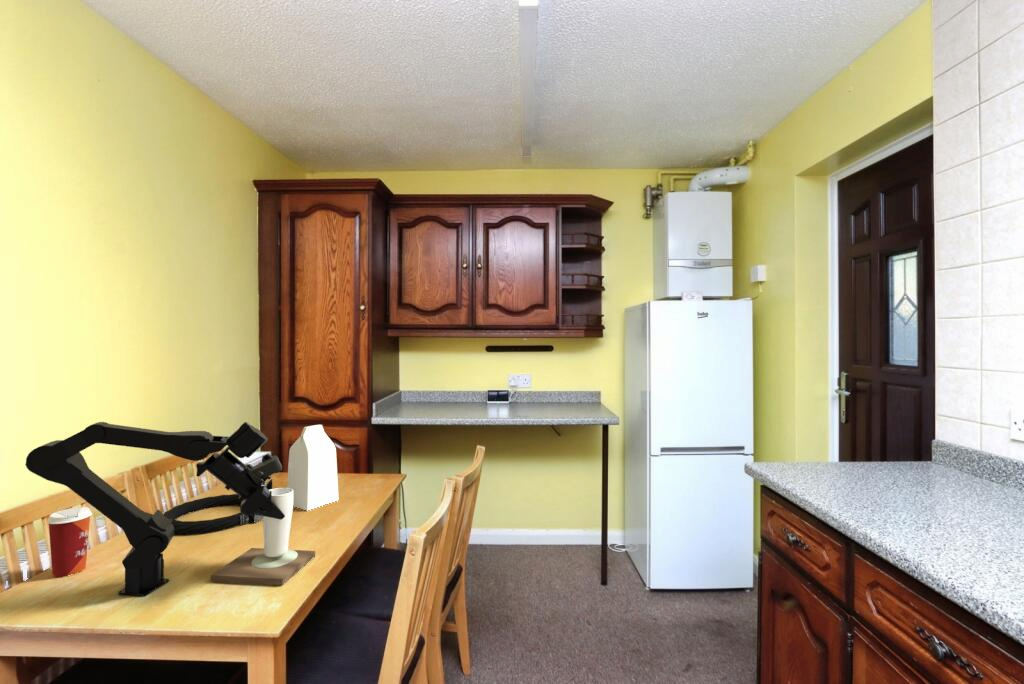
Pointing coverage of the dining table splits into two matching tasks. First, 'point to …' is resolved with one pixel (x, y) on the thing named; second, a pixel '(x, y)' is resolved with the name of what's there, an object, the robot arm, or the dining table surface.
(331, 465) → the milk
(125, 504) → the robot arm
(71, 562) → the paper cup
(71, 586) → the dining table surface
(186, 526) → the cable lock
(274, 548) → the drinking glass
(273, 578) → the walnut board
